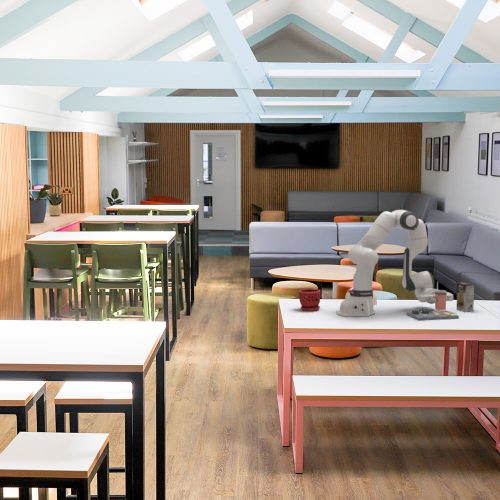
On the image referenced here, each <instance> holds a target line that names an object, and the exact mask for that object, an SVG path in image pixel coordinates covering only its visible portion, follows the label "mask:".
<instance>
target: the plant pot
mask: <svg viewBox="0 0 500 500" xmlns="http://www.w3.org/2000/svg"><path fill="white" fill-rule="evenodd" d="M321 297H322V296H321V290H320V289H317V288H307V289H300V290H298V298H299V302H300V309H301V310H302V311H305V312H316V311H319V309H320V308H321V306H320V302H321Z"/></svg>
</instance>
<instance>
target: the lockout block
mask: <svg viewBox="0 0 500 500" xmlns="http://www.w3.org/2000/svg"><path fill="white" fill-rule="evenodd" d="M446 292H447V291H446ZM446 292H444V291H437V292H435V298H437V299H438V300H437V302H435V303H434V309H435V310H436V311H444V310H446V311H447V301H446V295H447V293H446Z"/></svg>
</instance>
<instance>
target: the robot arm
mask: <svg viewBox="0 0 500 500" xmlns="http://www.w3.org/2000/svg"><path fill="white" fill-rule="evenodd" d="M394 228H397V229H401V230H406V232H407V241H408V242H407V246H406V248H405V249H404V251H403V261H402V262H403V268H402V271H403V272H402V278H401V279H402V280H401V284H402V288H403V289H404V290H405V291H407V292H410V293H411V292H413V291H414V295H415V299H418V301H419V302H420V303H427V304H431V305H433V304H434V305H435V302H437V300H438V299H437V298H435V292H437V291H444V292H446V293H447V295H446V302H452V301H454V294H452V293H451V292H447V291H446V290H444V289H436V288H435V278H434V276H433V274H432V273H431V272H429V271H428V270H425V271H420V272H415V273H412V271H413V270H412V267H413V265H412V263H413V260H414V259H415V257H416V256H418V255H420V254H421V253H423V252H424V251H425V250H426V249H427V246H428V242H429V240H428V231H427V229H426V225H425V222H424V220H422V219H420V218H418V216H417V214H416V213H414V212H412V211H410V210H407V209H406V210H405V209H395V210H392V211H388V210H387V211H386V210H385V211H383V212H382V213H380V214H379V215H378V217H377V218H376V219H375V220H374V222H373V223H372V224H371V226H370V227H369V229H368V230H367V232H366V234H365V235H364V236H363V237H362V238H361V239H359V241H358V242H357V243H356V244H355V245H354V246H353V247H350V248H349V250H348V252H347V256H348V257H347V258H348V259H349V260H350V261H351V262H352V263H353V264H355V265H356V268H355V273H353V277H352V287H353V289H352V290H349V289H350V288H348V289H347V290H346V291H347V292H348V293H350V296H349V297H348V298H346V299H345V298H344V300H343V301H341V302H340V304H339V305H340V306H339V310H336V311H335V313H336V315H337V316H341V317H369V316H371V315H375V314H376V313H375V308H374V305H373V291H374V290H373V277H374V271H375V266H376V264H377V263H378V261H379V254H378V252H376V250H377V249H378V248H379V247H381V246H383V244H384V242H385V240H386V239H387V238H388V236H389V234H390V233H391V231H392V230H393V229H394Z"/></svg>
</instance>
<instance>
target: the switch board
mask: <svg viewBox="0 0 500 500" xmlns="http://www.w3.org/2000/svg"><path fill="white" fill-rule="evenodd" d="M406 316H408V317H410V318H413V319H414V320H416V321H419V322H420V321H435V320H437V321H438V320H456V319H460V317H459V315H458V314H457V313H456V314H455V313H452V312H450V311H448V310H447V309H446V310H430V311H429V310H428V309H421V311H419V310H417V309H413V310H411V311H407V312H406Z"/></svg>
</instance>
